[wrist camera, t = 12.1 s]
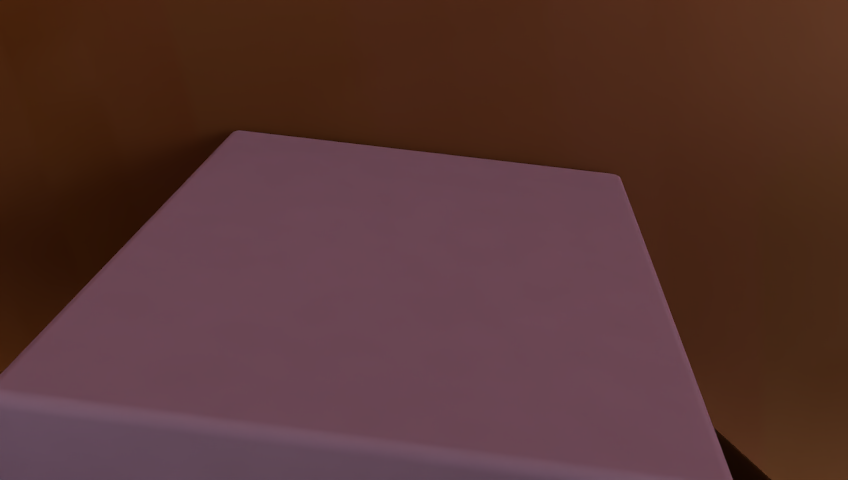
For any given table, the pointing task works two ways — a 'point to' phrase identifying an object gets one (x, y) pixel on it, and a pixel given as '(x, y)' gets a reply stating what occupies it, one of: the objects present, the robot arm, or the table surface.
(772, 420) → the table surface
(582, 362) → the mauve rounded cube
